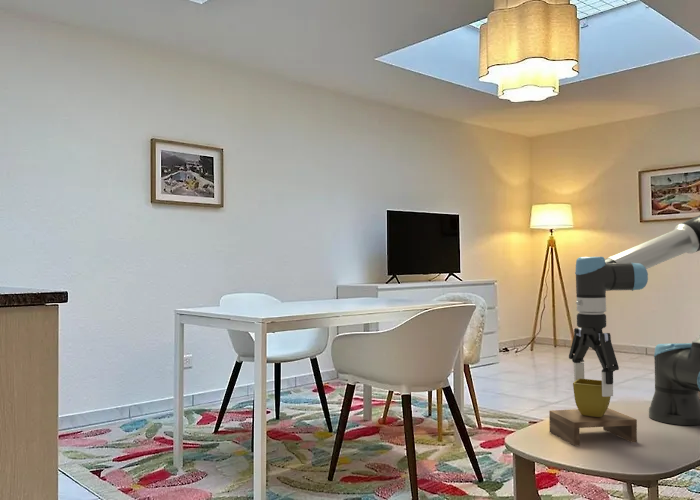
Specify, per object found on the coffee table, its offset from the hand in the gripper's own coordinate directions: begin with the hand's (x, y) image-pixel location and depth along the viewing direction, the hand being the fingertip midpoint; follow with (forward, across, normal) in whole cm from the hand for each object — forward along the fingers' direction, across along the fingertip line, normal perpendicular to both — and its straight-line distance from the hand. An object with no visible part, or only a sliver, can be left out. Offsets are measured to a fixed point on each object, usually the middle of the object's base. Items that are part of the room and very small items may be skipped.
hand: (593, 391), depth 168 cm
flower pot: (+7, 0, 0) cm, 7 cm away
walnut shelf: (+12, 0, -1) cm, 13 cm away
